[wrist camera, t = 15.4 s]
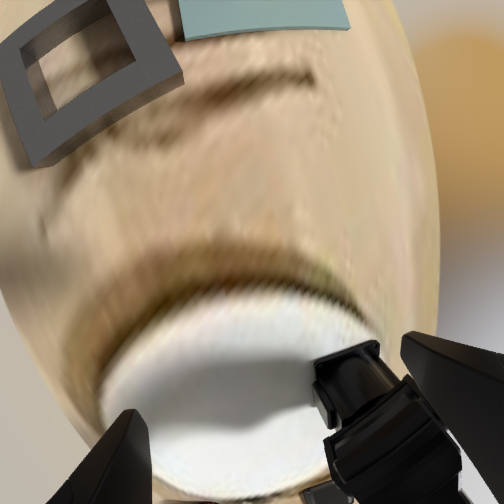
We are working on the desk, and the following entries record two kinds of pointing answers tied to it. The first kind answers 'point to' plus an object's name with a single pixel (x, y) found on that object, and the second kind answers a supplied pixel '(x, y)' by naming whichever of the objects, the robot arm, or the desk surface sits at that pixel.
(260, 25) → the rubber mat
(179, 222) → the desk surface
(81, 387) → the desk surface
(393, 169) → the desk surface
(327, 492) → the phone
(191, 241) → the desk surface
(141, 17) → the square-hole plate
